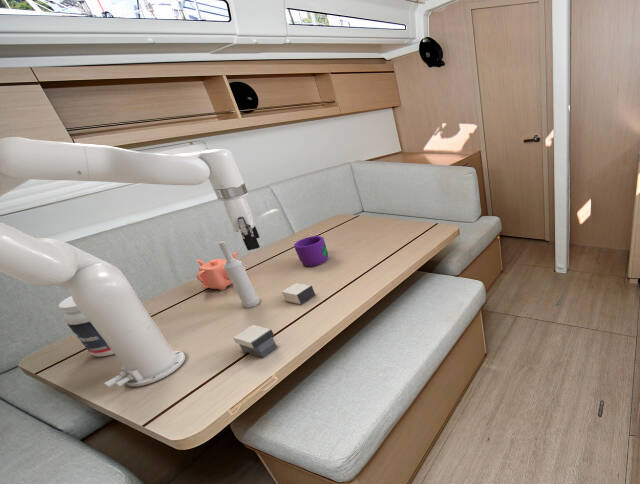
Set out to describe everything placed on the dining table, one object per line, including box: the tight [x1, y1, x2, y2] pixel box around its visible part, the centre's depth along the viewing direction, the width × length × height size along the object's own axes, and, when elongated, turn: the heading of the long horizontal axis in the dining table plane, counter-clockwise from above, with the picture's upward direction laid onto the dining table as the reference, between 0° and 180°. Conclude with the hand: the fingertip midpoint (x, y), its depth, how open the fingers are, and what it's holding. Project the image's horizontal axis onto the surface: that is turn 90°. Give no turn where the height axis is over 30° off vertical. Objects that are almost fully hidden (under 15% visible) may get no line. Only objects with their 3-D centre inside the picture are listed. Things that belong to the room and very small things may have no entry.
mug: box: [293, 234, 329, 267], centre depth 154 cm, size 17×11×10 cm, turn 10°
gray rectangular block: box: [238, 336, 278, 358], centre depth 103 cm, size 4×9×4 cm, turn 69°
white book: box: [232, 324, 275, 349], centre depth 102 cm, size 6×8×2 cm
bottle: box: [217, 240, 261, 309], centre depth 121 cm, size 5×5×25 cm
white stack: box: [281, 282, 316, 305], centre depth 127 cm, size 6×8×4 cm
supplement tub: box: [58, 296, 115, 357], centre depth 107 cm, size 13×13×18 cm
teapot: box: [195, 250, 240, 291], centre depth 139 cm, size 14×14×11 cm
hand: (254, 243), depth 111 cm, fingers open, 9 cm apart
